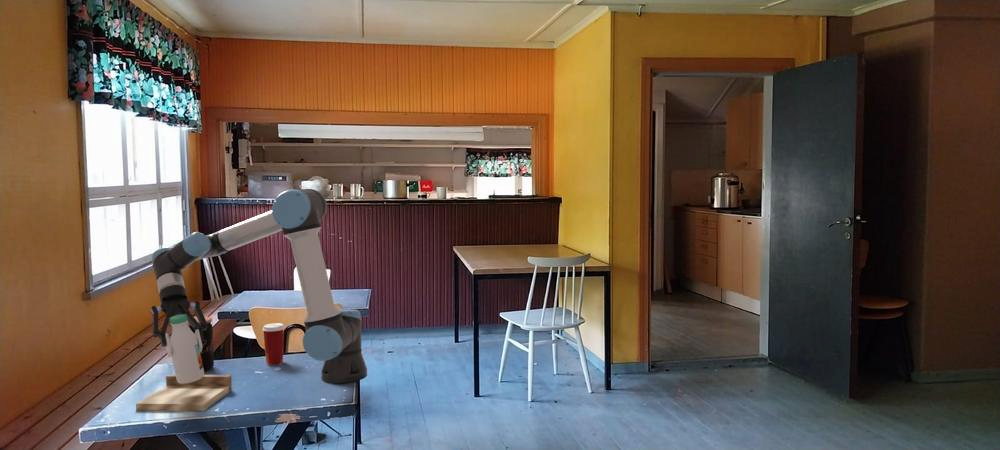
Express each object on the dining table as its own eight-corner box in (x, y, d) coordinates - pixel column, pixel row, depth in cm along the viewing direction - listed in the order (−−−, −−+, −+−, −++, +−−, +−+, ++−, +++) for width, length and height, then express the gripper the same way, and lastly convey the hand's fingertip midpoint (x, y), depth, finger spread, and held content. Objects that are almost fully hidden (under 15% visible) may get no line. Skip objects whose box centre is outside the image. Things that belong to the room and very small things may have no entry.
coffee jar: (200, 375, 219) (198, 323, 218) (173, 373, 221) (171, 322, 220) (220, 366, 230) (218, 316, 228) (194, 364, 232) (192, 315, 231)
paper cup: (290, 361, 235) (289, 324, 234) (274, 367, 229) (273, 328, 227) (274, 359, 239) (273, 322, 238) (258, 364, 232) (257, 326, 231)
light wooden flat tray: (231, 390, 204) (231, 374, 203) (203, 411, 186) (202, 394, 186) (170, 389, 205) (169, 374, 204) (136, 410, 187) (135, 393, 186)
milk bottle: (197, 383, 191) (184, 319, 187) (172, 385, 191) (158, 322, 187) (209, 372, 198) (196, 310, 194) (184, 374, 198) (171, 313, 194)
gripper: (205, 294, 211) (219, 353, 200) (134, 301, 199) (145, 364, 187) (208, 280, 207) (223, 339, 195) (136, 287, 194) (148, 351, 183)
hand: (185, 351), depth 191 cm, fingers closed on milk bottle, 8 cm apart
